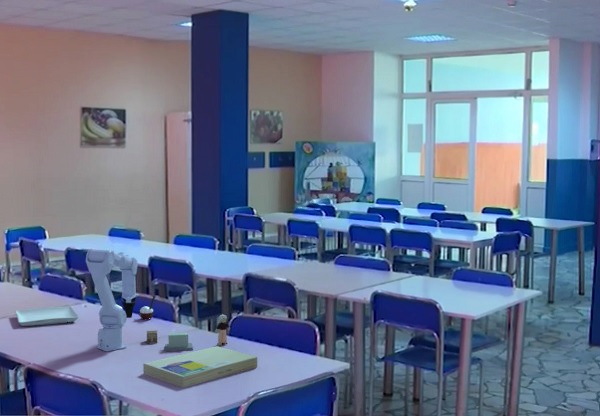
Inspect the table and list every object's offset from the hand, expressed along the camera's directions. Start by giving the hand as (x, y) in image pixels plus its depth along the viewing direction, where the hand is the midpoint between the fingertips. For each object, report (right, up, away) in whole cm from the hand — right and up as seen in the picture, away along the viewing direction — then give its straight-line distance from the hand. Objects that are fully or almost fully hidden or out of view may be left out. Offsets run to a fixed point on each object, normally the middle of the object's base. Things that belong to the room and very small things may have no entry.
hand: (129, 315), depth 323 cm
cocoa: (-1, -8, +41) cm, 41 cm away
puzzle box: (+37, -15, -45) cm, 60 cm away
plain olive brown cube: (+11, -11, -3) cm, 15 cm away
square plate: (-49, -8, +38) cm, 63 cm away
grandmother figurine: (+41, -11, -6) cm, 43 cm away
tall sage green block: (+24, -11, -14) cm, 29 cm away
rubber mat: (+24, -12, -14) cm, 30 cm away
